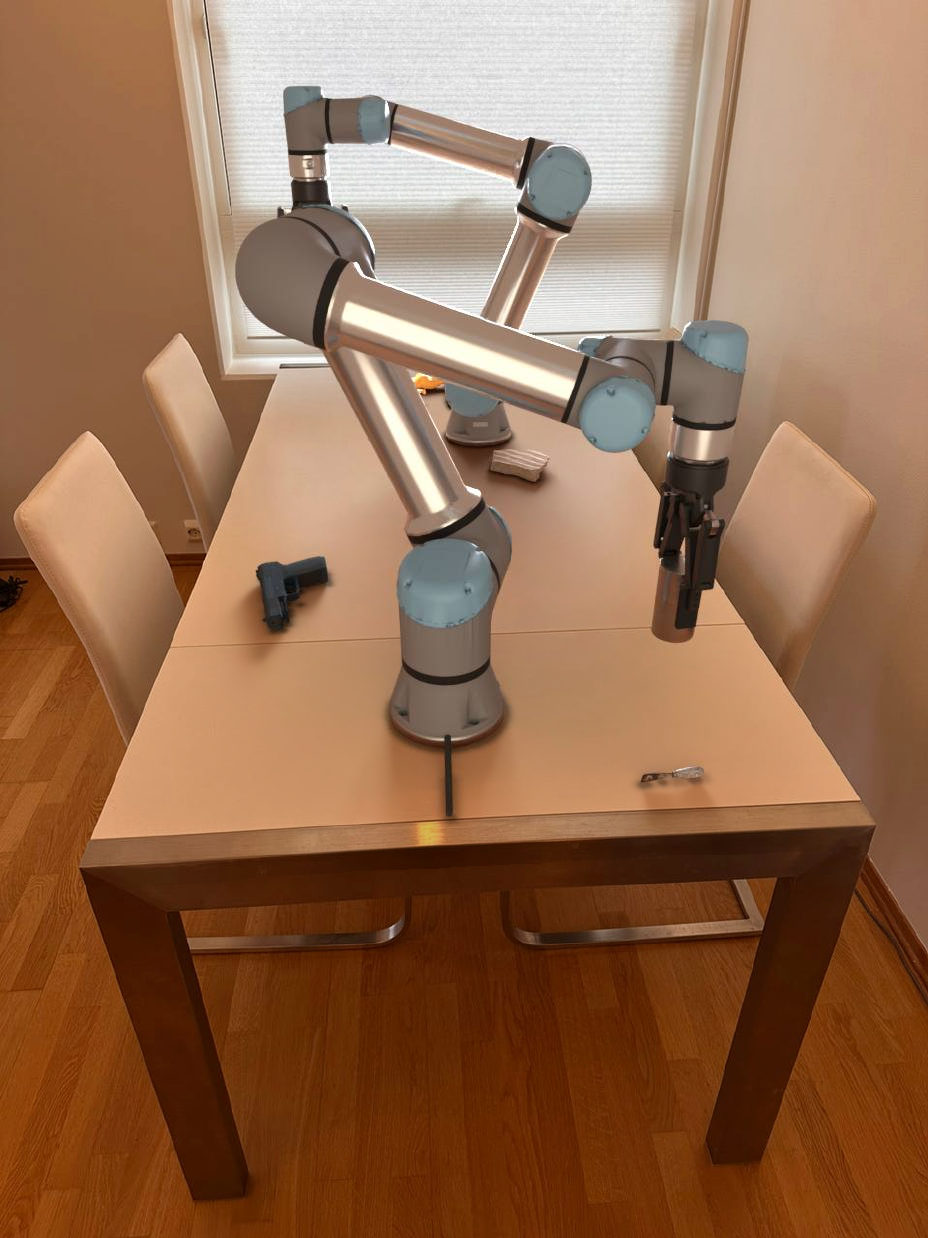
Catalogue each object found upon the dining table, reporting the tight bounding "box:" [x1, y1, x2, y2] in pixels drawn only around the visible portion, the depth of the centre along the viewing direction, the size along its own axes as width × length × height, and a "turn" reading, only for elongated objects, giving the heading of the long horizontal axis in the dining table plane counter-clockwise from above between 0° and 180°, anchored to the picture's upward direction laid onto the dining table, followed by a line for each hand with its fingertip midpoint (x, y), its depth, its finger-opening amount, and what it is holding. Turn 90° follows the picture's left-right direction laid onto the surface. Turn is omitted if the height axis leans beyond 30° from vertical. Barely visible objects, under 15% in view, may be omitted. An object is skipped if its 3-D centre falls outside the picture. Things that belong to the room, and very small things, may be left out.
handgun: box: [255, 555, 329, 631], centre depth 146 cm, size 3×17×12 cm
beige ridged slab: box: [489, 448, 550, 483], centre depth 192 cm, size 13×12×2 cm
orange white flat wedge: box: [412, 372, 445, 395], centre depth 240 cm, size 20×20×4 cm
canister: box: [650, 553, 696, 644], centre depth 120 cm, size 6×6×11 cm
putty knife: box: [640, 765, 705, 784], centre depth 109 cm, size 1×8×2 cm, turn 103°
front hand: (674, 614), depth 122 cm, fingers closed on canister, 6 cm apart
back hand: (320, 293), depth 183 cm, fingers open, 13 cm apart
